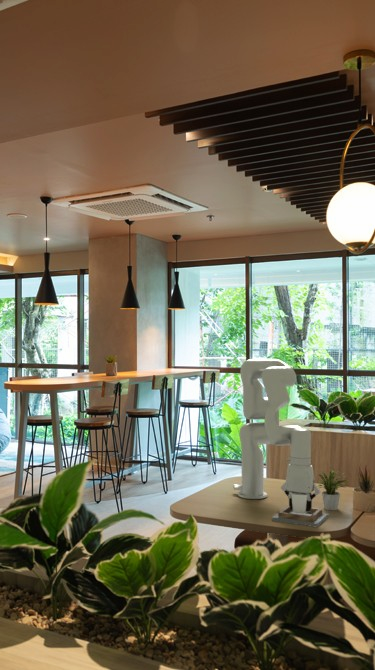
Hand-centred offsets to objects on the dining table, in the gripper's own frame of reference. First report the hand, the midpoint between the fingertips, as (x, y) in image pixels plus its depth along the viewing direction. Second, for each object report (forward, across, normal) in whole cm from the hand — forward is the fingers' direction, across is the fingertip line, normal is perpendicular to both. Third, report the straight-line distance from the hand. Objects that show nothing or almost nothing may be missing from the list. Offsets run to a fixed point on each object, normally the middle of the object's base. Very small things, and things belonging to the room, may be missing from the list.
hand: (300, 509), depth 227 cm
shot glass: (+1, 0, 0) cm, 1 cm away
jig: (+3, 0, 0) cm, 3 cm away
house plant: (+4, +6, +19) cm, 20 cm away
